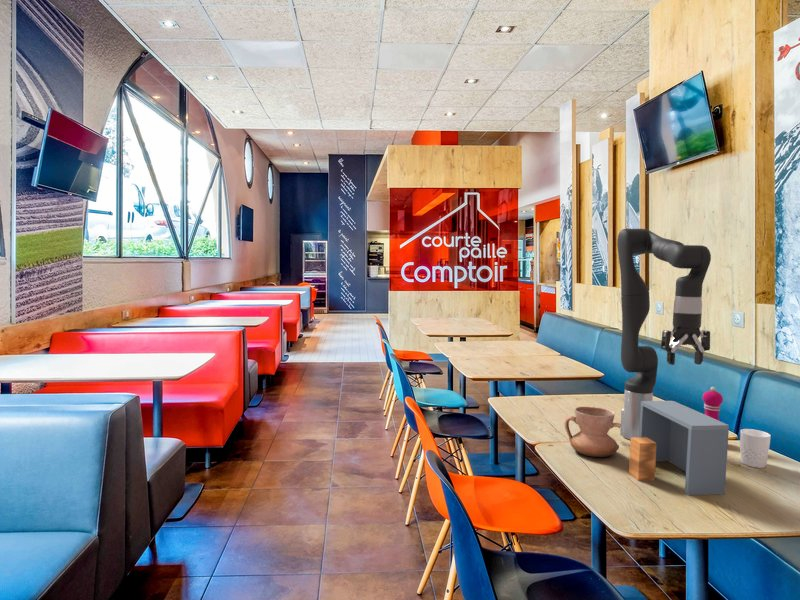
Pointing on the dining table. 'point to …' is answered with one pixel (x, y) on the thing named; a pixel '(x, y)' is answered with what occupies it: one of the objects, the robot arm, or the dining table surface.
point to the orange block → (642, 458)
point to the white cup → (754, 447)
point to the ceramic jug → (593, 431)
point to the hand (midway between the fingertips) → (684, 364)
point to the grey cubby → (688, 443)
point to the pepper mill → (712, 403)
